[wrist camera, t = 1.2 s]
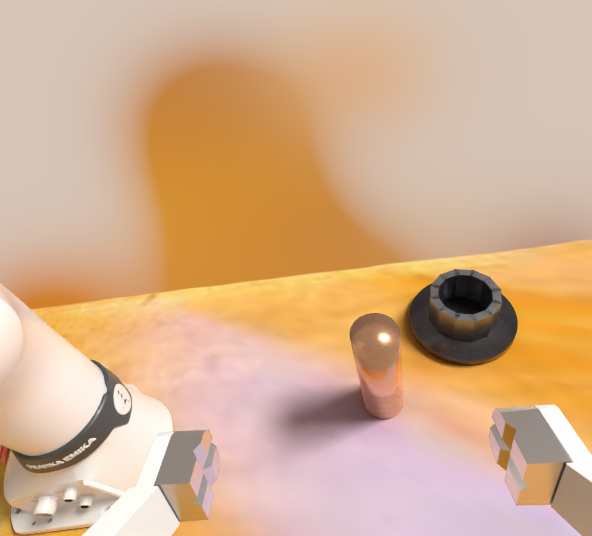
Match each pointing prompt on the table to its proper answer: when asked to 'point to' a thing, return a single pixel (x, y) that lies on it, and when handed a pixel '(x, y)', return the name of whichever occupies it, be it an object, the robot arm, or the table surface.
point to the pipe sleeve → (463, 318)
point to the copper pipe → (378, 363)
